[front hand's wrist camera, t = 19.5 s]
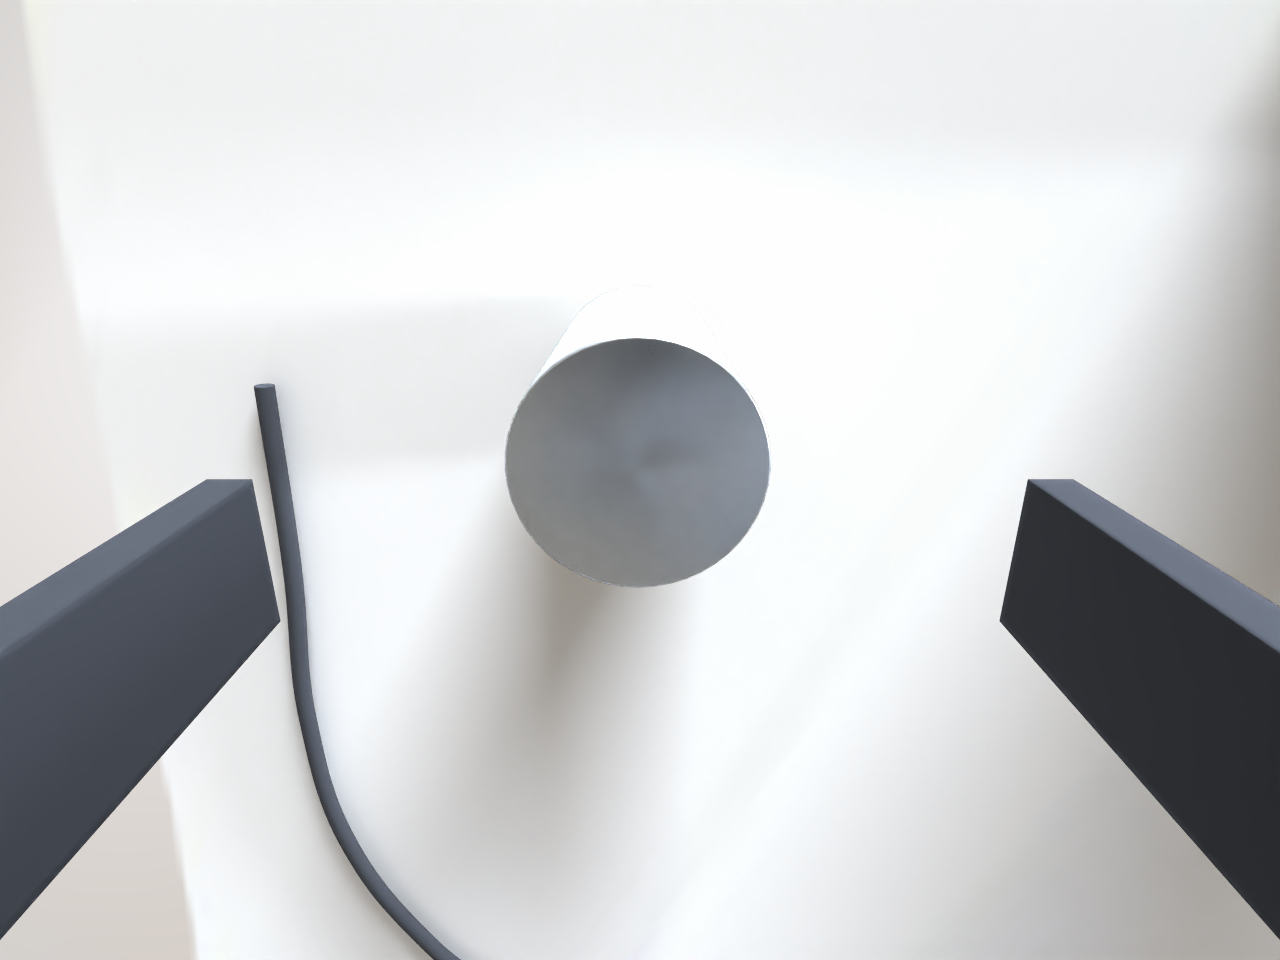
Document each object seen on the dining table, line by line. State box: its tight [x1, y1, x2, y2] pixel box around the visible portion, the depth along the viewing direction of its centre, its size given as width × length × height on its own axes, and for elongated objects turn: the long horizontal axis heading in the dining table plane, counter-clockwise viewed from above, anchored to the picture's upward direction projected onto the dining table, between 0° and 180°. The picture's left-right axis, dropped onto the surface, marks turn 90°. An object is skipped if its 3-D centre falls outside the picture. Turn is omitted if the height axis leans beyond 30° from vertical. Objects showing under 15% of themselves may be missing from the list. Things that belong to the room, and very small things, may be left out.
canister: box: [505, 286, 771, 587], centre depth 23 cm, size 6×6×12 cm
